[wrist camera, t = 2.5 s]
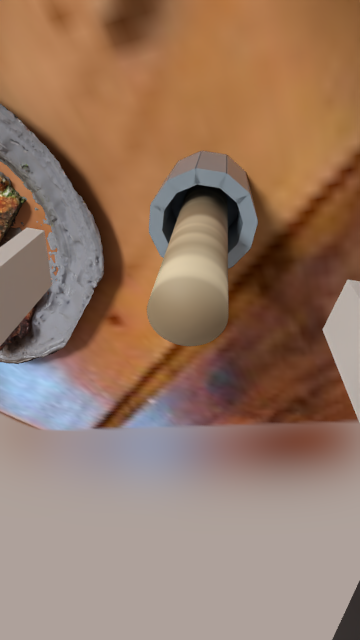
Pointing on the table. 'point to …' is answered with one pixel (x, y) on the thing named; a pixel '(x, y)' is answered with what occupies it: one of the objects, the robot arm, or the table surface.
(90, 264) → the food plate
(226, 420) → the table surface
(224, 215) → the pestle
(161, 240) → the cup
